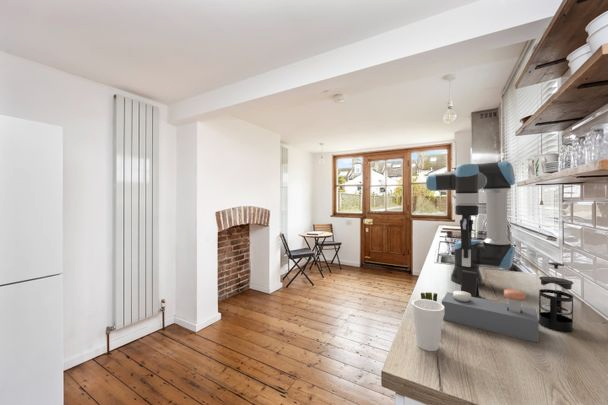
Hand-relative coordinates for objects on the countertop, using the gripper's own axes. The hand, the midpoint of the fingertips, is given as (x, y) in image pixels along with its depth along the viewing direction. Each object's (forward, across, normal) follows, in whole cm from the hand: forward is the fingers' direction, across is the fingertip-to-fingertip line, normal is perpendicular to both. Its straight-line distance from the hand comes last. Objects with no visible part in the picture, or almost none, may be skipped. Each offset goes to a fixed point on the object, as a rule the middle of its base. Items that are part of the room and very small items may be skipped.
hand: (466, 265), depth 102 cm
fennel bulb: (+21, +14, -10) cm, 27 cm away
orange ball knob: (+15, 0, +15) cm, 21 cm away
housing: (+20, 0, +7) cm, 21 cm away
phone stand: (+21, -28, -2) cm, 35 cm away
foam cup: (+21, +29, -7) cm, 36 cm away
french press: (+21, -14, +26) cm, 36 cm away
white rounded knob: (+19, 0, -1) cm, 19 cm away
